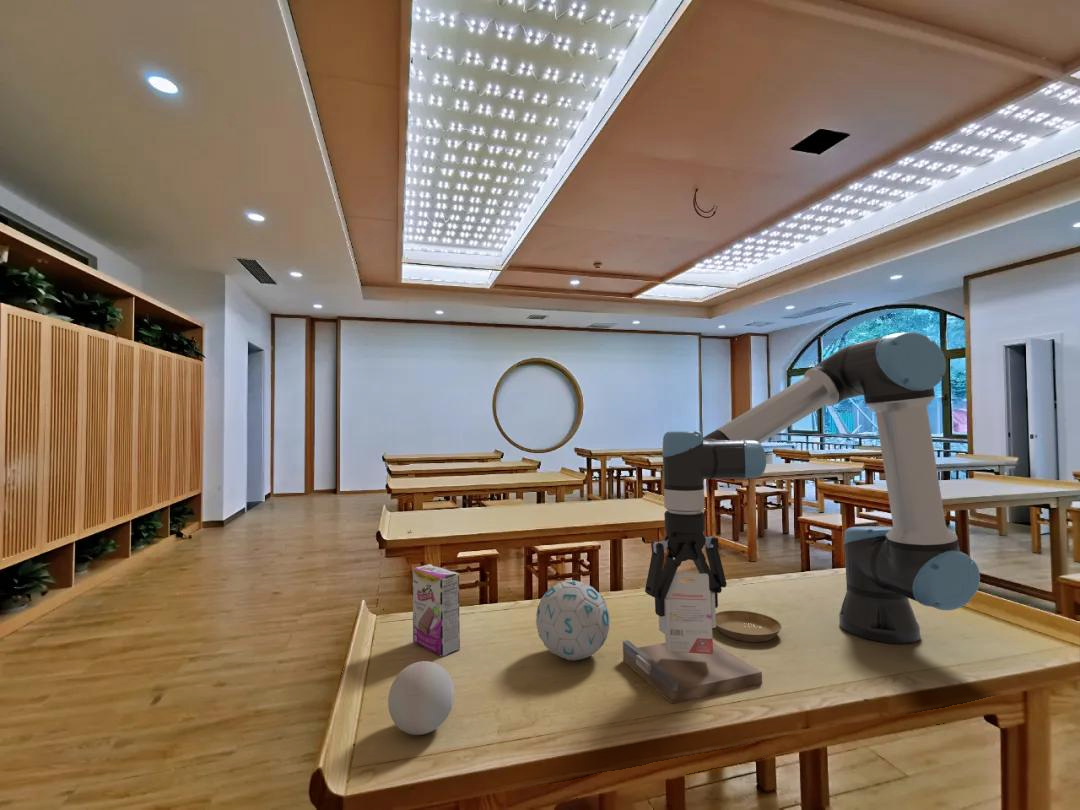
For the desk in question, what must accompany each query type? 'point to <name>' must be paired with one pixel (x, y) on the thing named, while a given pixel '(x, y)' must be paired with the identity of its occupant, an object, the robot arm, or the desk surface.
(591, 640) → the puzzle ball
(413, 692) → the grey sphere
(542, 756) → the desk surface
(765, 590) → the desk surface
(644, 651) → the flat brown box
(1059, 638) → the desk surface
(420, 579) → the candy bar box
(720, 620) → the plant saucer
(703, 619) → the ink cartridge box
